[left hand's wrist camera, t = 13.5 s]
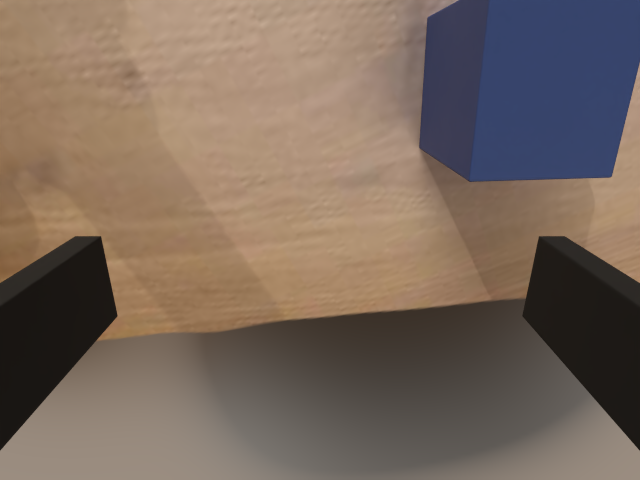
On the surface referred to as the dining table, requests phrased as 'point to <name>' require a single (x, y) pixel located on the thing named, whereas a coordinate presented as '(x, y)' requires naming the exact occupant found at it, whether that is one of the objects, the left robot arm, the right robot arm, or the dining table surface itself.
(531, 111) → the brick
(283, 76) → the dining table surface
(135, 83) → the dining table surface
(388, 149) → the dining table surface
